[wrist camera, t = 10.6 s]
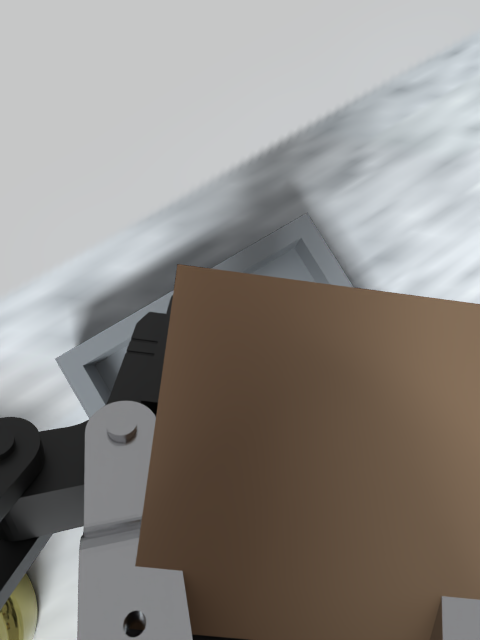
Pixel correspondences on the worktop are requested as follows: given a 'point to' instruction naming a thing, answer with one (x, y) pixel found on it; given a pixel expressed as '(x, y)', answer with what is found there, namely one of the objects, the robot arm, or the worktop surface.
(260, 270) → the parts tray
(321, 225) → the worktop surface
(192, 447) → the block
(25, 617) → the olive green lumpy figure
